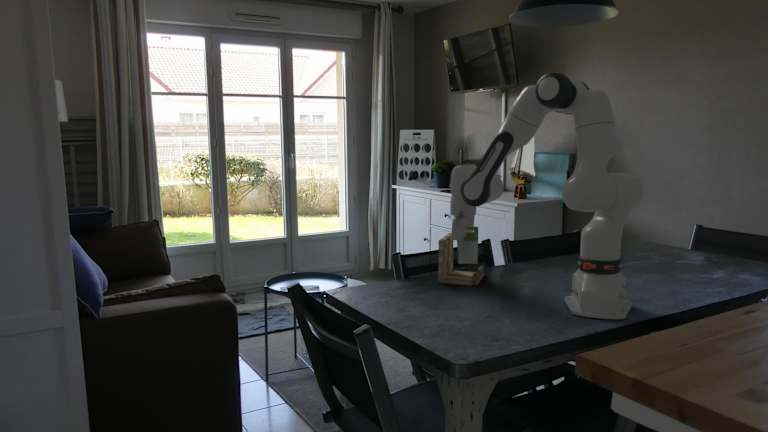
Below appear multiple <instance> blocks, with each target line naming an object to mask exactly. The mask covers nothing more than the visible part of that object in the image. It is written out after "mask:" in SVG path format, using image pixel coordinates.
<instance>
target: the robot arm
mask: <svg viewBox="0 0 768 432" xmlns="http://www.w3.org/2000/svg"><path fill="white" fill-rule="evenodd" d="M551 112H556V113H560V114H566V115H572V116H573V120H574V121H573V122H574V128H575V137H576V150H577V154H576V155H577V156H576V157H577V158H576V164H575V167H574V170H573V172H572V174H571V175H570V177H569V178H568V179H566V181H565V182H564V185H563V187H562V191H561V192H562V194H561V195H562V200H563V202H564V204H565V206H566V207H567V208H568V209H570V210H573V211H577V212H584V213H591V212H594V215H593V216H592V219H591V220H590V222H588V223H587V224H586V225H585V226H583V228H582V230H581V233H580V250H579V255H578V259H577V268H578V269H577V270H576V271H575V272H574V273H572V281H571V290H570V293H571V295H568V296H567V295H566V296H564V302H565V304H566V306H567V307H568V309H569V311H570V312H571V314H572V315H575V316H580V317H585V318H591V319H592V318H594V319H603V320H625V319H627V316H628V315H629V313H630V311H631V308H632V306H633V302H632V301H628V293H629V292H628V291H626V290H627V289H628V288H627V287H628V284H626V277H625V276H624V275H623V274H622V273H621V271H622V258H621V248H622V246H621V245H622V237H623V236H622V235H623V232H624V231H623V230H624V228H625V224H626V222H627V220H628V217H630V216H629V215H630V214H631V213H632V211H633V210H634V209H635V208H636V206H638V205H639V204H640V202H642V199H643V197H644V185H643V183H642V181H641V180H640V178H638V177H637V176H636V175H631V174H628V173H623V172H612V173H611V172H610V173H609V172H608V164H609V162H610V160H611V159H612V158H613V157H614V156H615V155H616V154H617V152H618V150H619V145H618V137H617V128H616V122H615V116H614V111H613V107H612V103H611V101H610V98H609V95H608V93H606V92H605V91H604V90H600V89H597V88H596V89H590V88H589V86H588V85H587V84H586V83H585V82H583V81H581V80H579V79H577V78H576V77H574V76H572V75H568V74H564V73H563V72H559V71H553V72H548V73H545V74H544V75H542V76H541V77H540V78H539V79H538V81H537V83H536V85H535V84H532V85H531V84H530V85H526V86H525V87H524V88H523V90H521V92H520V93H519V94H518V96H517V97H516V99H514V102H513V103H512V104H511V106H510V107H509V110H508V112H507V113H506V116H505V118H504V120H503V122H502V123H501V126H500V127H499V130H498V131H497V133H496V135H495V136H494V139H492V141H491V143H490V144H489V146H488V148H487V149H486V151H485V153H484V154H483V156H482V158H481V160H480V161H479V163H478V165H477V166H476V164H474V163H463V164H458V165H456V166H454V167H453V169H452V171H451V176H450V191H451V197H450V201H449V202H450V207H449V208H450V209H449V210H450V216H453V218H452V223H451V233H452V240H453V241H456V246H457V245H458V250H459V251H462V250H463V249H464V245H463V239H464V238H465V237H466V236H467V232H474V230H470V229H467V227H475V217H476V215H477V214H476V213H477V207H481V206H483V205H484V204H487V203H488V204H489V203H492V202H494V201H496V200H497V199H498V200H499V198H500V197H502V195H503V193H504V188H505V187H504V183H503V180H502V179H501V178H500V177H499V176H498V175H496V174H497V173H498V171H499V169H500V168H501V166H502V165H503V163H504V161H505V160H506V159H507V158H508V157H509V156H510V155H511V154H512V153H513V152H515V151H517V150H519V149H520V148H523V147H525V146H526V145H528V144H529V142H531V140H532V139H533V138H534V136H536V133H537V132H538V131H539V129H540V127H541V125H542V122H543V121H544V119H545V118H546V116H547V115H548V114H549V113H551Z"/></svg>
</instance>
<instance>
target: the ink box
mask: <svg viewBox="0 0 768 432" xmlns="http://www.w3.org/2000/svg"><path fill="white" fill-rule="evenodd" d="M467 229H470V230H473V231H472V232H467V236H466V237H465V238H464V239H463V245H464V249H463V250H462V251H459V250H458V245H457V244H456V247H457V248H456V263H457V264H458V265H478V264H479V262H478V261H479V226H474V227H467Z"/></svg>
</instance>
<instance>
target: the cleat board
mask: <svg viewBox="0 0 768 432" xmlns="http://www.w3.org/2000/svg"><path fill="white" fill-rule="evenodd" d="M437 264H438V265H437V266H438V267H437V269H438V273H437V274H438V276H437V278H438V279H437V281H438V283H437V284H446V285H447V284H448V285H459V286H470V287H477V285H478V284H479V283H480V282H481V281H482V279H483V277H484V276H485V272H484V271H485V266H484V265H479V267H478V268H477V269H476V270H475V271H466V270H456V269H455V270H454V240H452V232H449V233H447V234H446V235H444V236H443V237H442V238H440V239H438V263H437Z"/></svg>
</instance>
